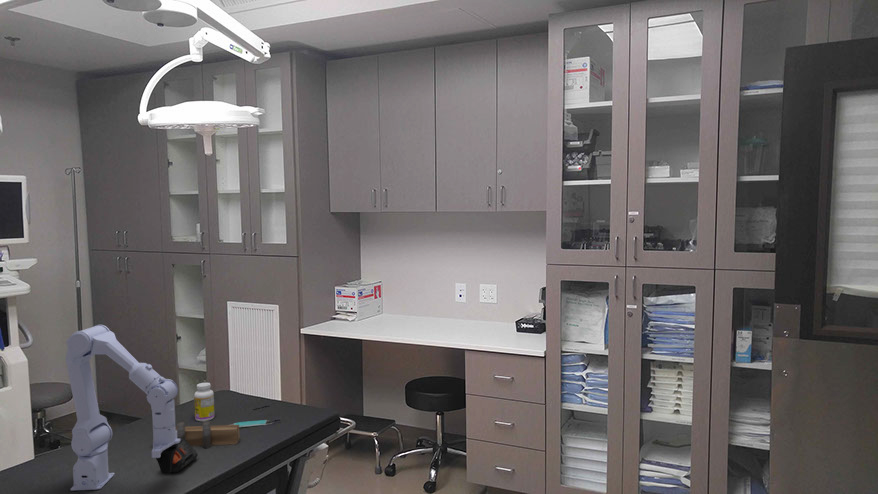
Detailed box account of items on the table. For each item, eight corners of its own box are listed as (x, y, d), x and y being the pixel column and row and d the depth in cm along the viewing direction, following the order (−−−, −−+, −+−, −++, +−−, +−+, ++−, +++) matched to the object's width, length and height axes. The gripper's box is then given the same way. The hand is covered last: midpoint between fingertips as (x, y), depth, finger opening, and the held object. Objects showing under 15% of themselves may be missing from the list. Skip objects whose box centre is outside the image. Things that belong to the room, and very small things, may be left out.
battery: (164, 480, 177) (182, 467, 176) (149, 456, 178) (167, 443, 177) (188, 467, 188) (205, 454, 188) (174, 444, 189) (191, 432, 189)
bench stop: (235, 447, 196) (234, 422, 196) (151, 450, 194) (149, 426, 193) (239, 439, 203) (238, 415, 202) (158, 442, 200) (157, 418, 200)
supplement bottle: (194, 417, 224) (193, 382, 223) (213, 414, 226) (212, 380, 225) (195, 423, 218) (194, 388, 217) (215, 420, 220) (214, 385, 219)
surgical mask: (271, 404, 226) (283, 410, 219) (271, 415, 226) (284, 422, 219) (216, 417, 212) (227, 425, 205) (216, 429, 213) (228, 437, 205)
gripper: (170, 434, 163) (172, 483, 164) (187, 415, 177) (189, 460, 178) (142, 435, 162) (145, 485, 163) (162, 416, 176) (164, 461, 177)
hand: (166, 472), depth 171 cm, fingers closed
